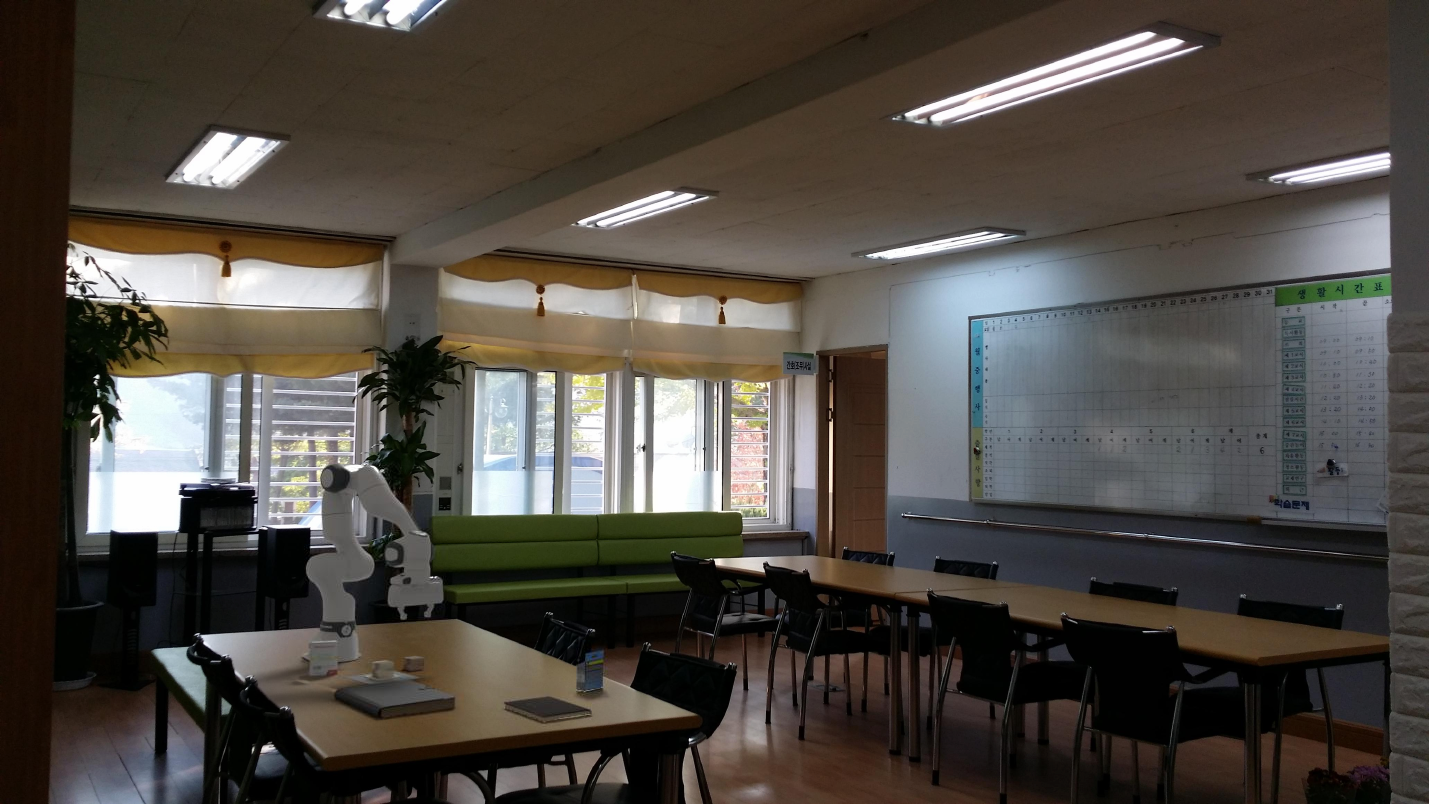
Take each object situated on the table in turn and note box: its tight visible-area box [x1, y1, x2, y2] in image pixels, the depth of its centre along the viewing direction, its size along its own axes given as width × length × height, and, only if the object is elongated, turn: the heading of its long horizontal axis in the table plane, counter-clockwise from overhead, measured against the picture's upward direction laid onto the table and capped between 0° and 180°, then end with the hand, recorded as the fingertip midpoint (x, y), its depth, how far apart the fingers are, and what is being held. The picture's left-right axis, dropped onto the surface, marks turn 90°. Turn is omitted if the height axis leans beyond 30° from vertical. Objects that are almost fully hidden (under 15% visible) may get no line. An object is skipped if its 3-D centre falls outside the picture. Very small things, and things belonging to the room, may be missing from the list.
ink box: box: [308, 640, 339, 677], centre depth 363 cm, size 9×5×12 cm, turn 116°
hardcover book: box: [503, 695, 592, 722], centre depth 315 cm, size 16×23×2 cm
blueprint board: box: [344, 670, 421, 685], centre depth 358 cm, size 18×18×1 cm
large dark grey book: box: [333, 679, 457, 719], centre depth 323 cm, size 33×4×24 cm
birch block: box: [371, 660, 395, 679], centre depth 358 cm, size 5×5×5 cm
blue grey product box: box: [575, 650, 605, 691], centre depth 348 cm, size 9×4×12 cm, turn 145°
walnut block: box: [402, 655, 425, 672], centre depth 375 cm, size 5×5×5 cm
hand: (415, 618), depth 376 cm, fingers open, 8 cm apart
